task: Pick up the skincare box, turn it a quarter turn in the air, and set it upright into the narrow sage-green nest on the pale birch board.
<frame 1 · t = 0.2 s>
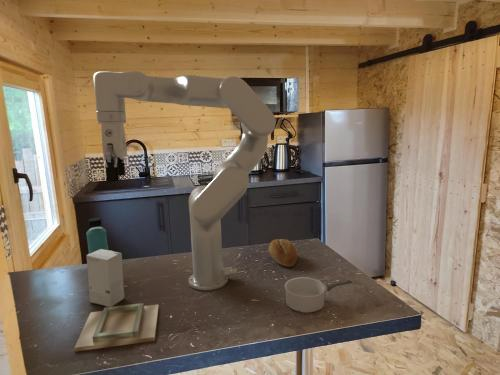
hand: (116, 178, 100), 36 cm above the worktop, tool pointing down, fingers open, 9 cm apart
beverage bottle: (101, 274, 119), on the worktop
nest board: (120, 327, 88), on the worktop
bread roll: (282, 261, 127), on the worktop
saucepan: (318, 303, 98), on the worktop
skincare box: (108, 301, 102), on the worktop
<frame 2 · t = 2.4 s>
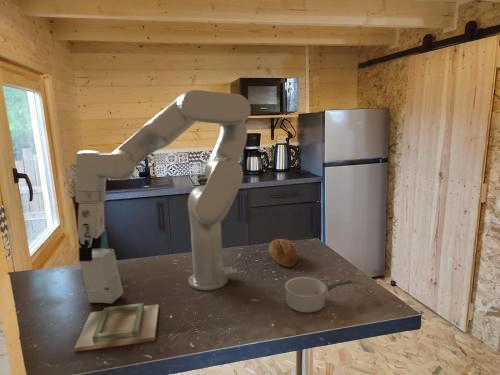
hand: (90, 254, 98), 15 cm above the worktop, tool pointing down, fingers open, 9 cm apart
skincare box: (108, 298, 102), on the worktop, touching gripper
everything else where it was.
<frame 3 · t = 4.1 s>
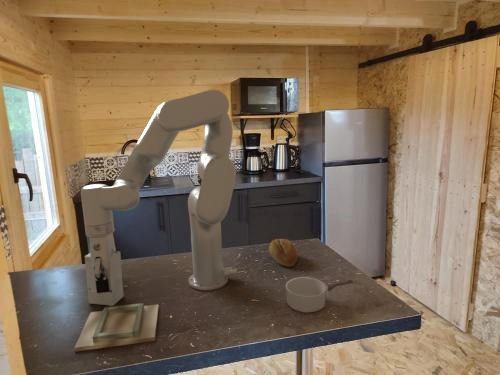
hand: (106, 285, 101), 5 cm above the worktop, tool pointing down, fingers closed on skincare box, 7 cm apart
skincare box: (107, 300, 102), on the worktop, touching gripper
everything else where it was.
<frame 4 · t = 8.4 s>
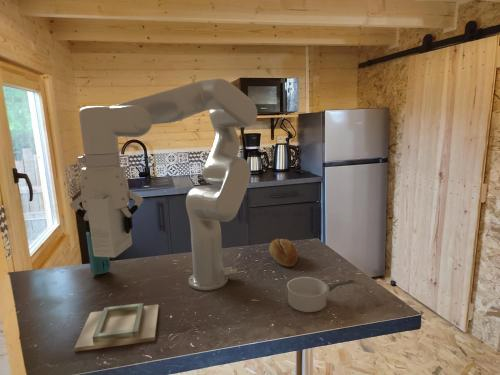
hand: (110, 232, 83), 26 cm above the worktop, tool pointing down, fingers closed on skincare box, 7 cm apart
skincare box: (114, 252, 85), point 21 cm above the worktop, touching gripper
everything else where it was.
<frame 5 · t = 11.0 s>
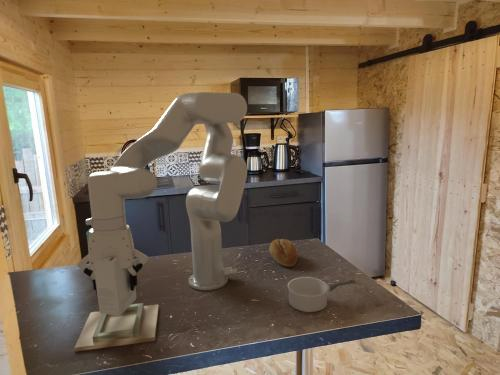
hand: (116, 289, 86), 11 cm above the worktop, tool pointing down, fingers closed on skincare box, 7 cm apart
skincare box: (119, 307, 87), point 6 cm above the worktop, touching gripper
everything else where it was.
when the fingers open (7 cm above the worktop, at t = 12.9 s): skincare box stays where it is, resting on nest board.
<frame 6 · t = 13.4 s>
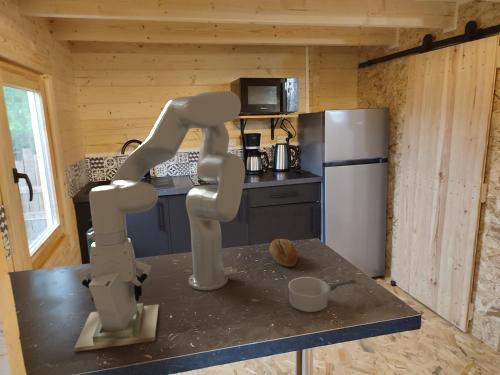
hand: (118, 300, 87), 8 cm above the worktop, tool pointing down, fingers open, 9 cm apart
skincare box: (122, 321, 88), point 2 cm above the worktop, touching nest board
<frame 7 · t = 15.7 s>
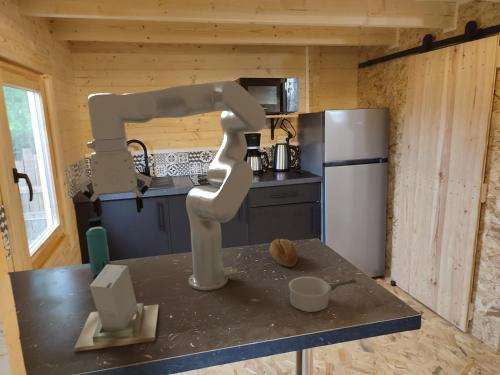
hand: (119, 213, 87), 29 cm above the worktop, tool pointing down, fingers open, 9 cm apart
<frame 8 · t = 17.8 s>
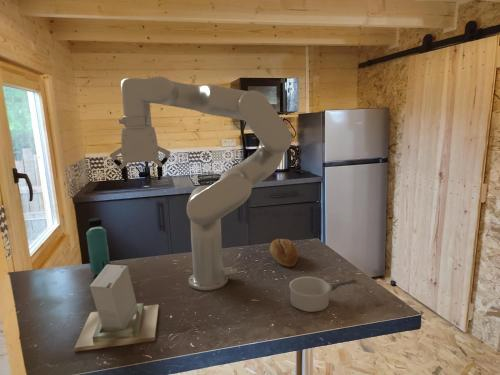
hand: (143, 180, 104), 34 cm above the worktop, tool pointing down, fingers open, 9 cm apart
at the end: skincare box 0.4 cm off-centre on the nest board, point 1.6 cm above the nest board's base; skincare box tilted 13°; the gripper is holding nothing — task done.
